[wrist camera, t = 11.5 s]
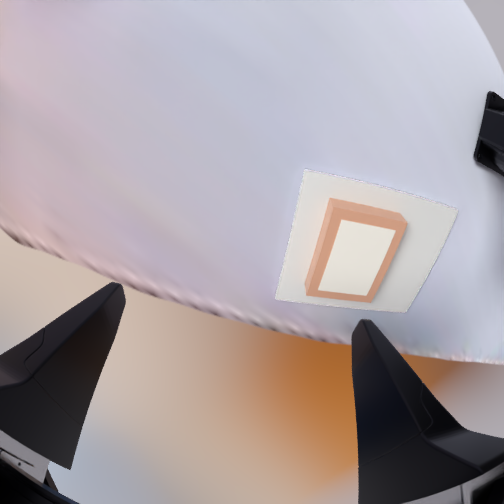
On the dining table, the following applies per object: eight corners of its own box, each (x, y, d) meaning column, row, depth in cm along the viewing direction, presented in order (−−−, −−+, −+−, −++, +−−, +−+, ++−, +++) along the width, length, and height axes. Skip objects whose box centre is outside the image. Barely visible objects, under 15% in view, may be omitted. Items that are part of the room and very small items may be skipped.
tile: (408, 223, 18) (333, 207, 18) (371, 303, 22) (305, 296, 22) (399, 213, 19) (329, 197, 19) (366, 290, 24) (304, 283, 23)
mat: (455, 208, 19) (458, 210, 18) (404, 309, 25) (405, 312, 25) (304, 168, 18) (305, 170, 18) (275, 295, 25) (275, 299, 25)
